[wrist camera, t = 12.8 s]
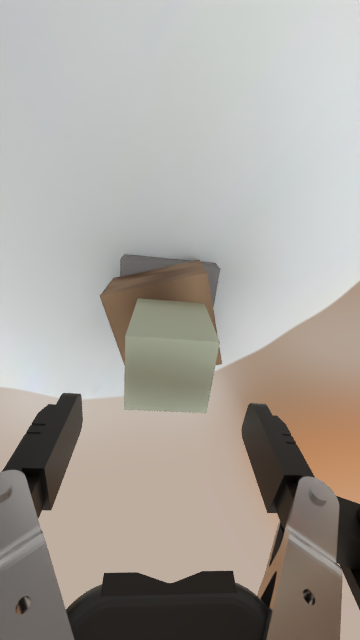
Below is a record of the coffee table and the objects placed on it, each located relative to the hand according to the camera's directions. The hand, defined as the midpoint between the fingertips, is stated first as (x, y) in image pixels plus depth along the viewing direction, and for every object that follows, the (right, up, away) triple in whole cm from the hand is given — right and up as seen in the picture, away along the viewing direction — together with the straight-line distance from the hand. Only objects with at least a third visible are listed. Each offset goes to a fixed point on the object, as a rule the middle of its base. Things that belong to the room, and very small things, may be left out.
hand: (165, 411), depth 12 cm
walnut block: (-1, +6, +12) cm, 14 cm away
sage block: (0, +4, +8) cm, 9 cm away
